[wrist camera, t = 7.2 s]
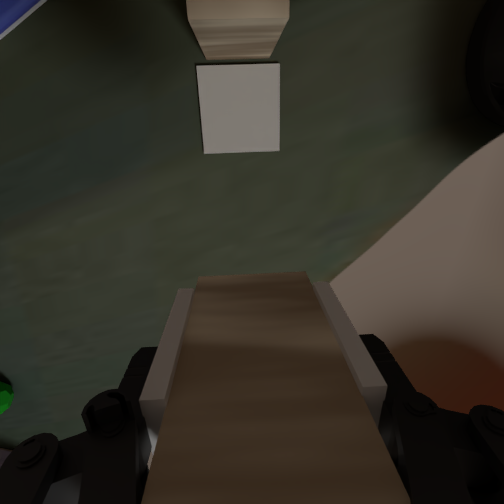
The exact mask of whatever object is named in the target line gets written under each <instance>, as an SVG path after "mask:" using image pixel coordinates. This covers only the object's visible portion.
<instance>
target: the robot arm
mask: <svg viewBox="0 0 504 504" xmlns="http://www.w3.org/2000/svg"><path fill="white" fill-rule="evenodd" d="M466 74H467V83H468V88H469V91H470V95H471V97H472V100H473V101H474V103H475V105H476V107H477V108H478V109H479V111H480V112H481V113H482V114H483V115H484V116H485V117H486V118H488V119H489V120H491V121H492V122H494V123H496V124H499V125H501V126H504V0H488V1H487V3H486V4H485V6H484V8H483V10H482V12H481V14H480V16H479V18H478V20H477V22H476V25H475V27H474V30H473V33H472V36H471V39H470V43H469V48H468V53H467V63H466ZM313 290H314V292H315V295H316V297H317V299H318V301H319V303H320V306H321V308H322V310H323V312H324V314H325V316H326V319H327V321H328V323H329V325H330V327H331V330H332V332H333V334H334V336H335V338H336V341H337V343H338V345H339V347H340V349H341V352H342V354H343V356H344V358H345V360H346V363H347V365H348V367H349V369H350V371H351V373H352V376H353V378H354V380H355V382H356V384H357V387H358V389H359V391H360V393H361V395H362V396H363V398H364V400H365V402H366V404H367V406H368V409H369V411H370V413H371V415H372V417H373V420H374V422H375V424H376V426H377V428H378V430H379V433H380V435H381V437H382V439H383V441H384V443H385V446H386V448H387V450H388V452H389V454H390V457H391V459H392V461H393V463H394V465H395V467H396V470H397V472H398V474H399V476H400V478H401V480H402V483H403V485H404V487H405V489H406V491H407V493H408V496H409V498H410V502H411V504H504V411H502V410H500V409H497V408H495V407H492V406H487V405H477V406H474V407H473V408H472V409H471V410H470V412H469V415H468V414H464V413H459V412H454V411H449V410H445V409H442V408H439V407H438V406H437V404H436V403H434V402H433V401H432V400H431V399H430V398H429V397H427V396H425V395H423V394H422V393H419V392H416V390H415V389H414V387H413V386H412V384H411V383H410V381H409V380H408V378H407V377H406V375H405V374H404V372H403V371H402V369H401V368H400V366H399V365H398V363H397V362H396V361H395V359H394V357H393V356H392V354H391V353H390V351H389V350H388V349H387V347H386V345H385V344H384V342H383V341H381V340H380V339H379V338H378V337H376V336H375V335H373V334H365V335H358V334H357V332H356V330H355V328H354V326H353V324H352V323H351V321H350V319H349V318H348V316H347V314H346V313H345V311H344V309H343V307H342V305H341V304H340V302H339V300H338V298H337V297H336V295H335V293H334V291H333V290H332V288H331V286H330V284H329V283H328V282H313ZM194 295H195V293H194V288H188V289H178V292H177V295H176V298H175V301H174V303H173V306H172V309H171V312H170V315H169V317H168V320H167V323H166V326H165V329H164V331H163V334H162V337H161V340H160V343H159V346H158V347H143V348H141V349H140V350H139V351H138V352H137V353H136V354H135V355H134V356H133V357H132V359H131V361H130V363H129V365H128V369H127V370H126V372H125V374H124V378H123V379H122V381H121V383H120V385H119V387H118V389H111V390H107V391H104V392H102V393H99V394H98V395H96V396H95V397H94V398H92V399H91V400H90V401H89V402H88V403H87V404H86V406H85V407H84V409H83V411H82V414H81V415H82V418H83V421H84V423H85V426H86V429H87V431H85V432H83V433H81V434H78V435H75V436H72V437H69V438H66V439H63V440H61V441H58V439H57V437H56V436H55V435H53V434H52V433H42V434H38V435H34V436H32V437H30V438H29V439H27V440H25V441H23V442H22V443H21V444H19V445H18V446H17V447H16V448H14V449H13V451H12V452H11V453H10V454H9V455H8V457H7V458H6V459H5V461H4V462H3V464H2V466H1V467H0V504H141V502H142V498H143V494H144V490H145V486H146V482H147V478H148V474H149V469H148V465H147V463H148V459H149V456H150V452H151V451H152V455H154V451H155V447H156V443H157V439H158V435H159V431H160V427H161V423H162V419H163V415H164V411H165V408H166V407H167V403H168V399H169V395H170V391H171V387H172V383H173V379H174V375H175V371H176V367H177V363H178V359H179V355H180V351H181V347H182V343H183V339H184V335H185V331H186V327H187V323H188V319H189V315H190V311H191V307H192V303H193V299H194Z"/></svg>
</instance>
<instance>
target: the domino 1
mask: <svg viewBox="0 0 504 504" xmlns="http://www.w3.org/2000/svg"><path fill="white" fill-rule="evenodd" d="M186 4H187V15H188V21H189V23H190V25H191V27H192V30H193V32H194V34H195V36H196V38H197V40H198V42H199V45H200V47H201V49H202V51H203V53H204V55H205V57H206V60H227V59H263V58H269V57H270V55H271V53H272V51H273V49H274V47H275V45H276V43H277V41H278V39H279V37H280V35H281V33H282V31H283V29H284V27H285V25H286V23H287V21H288V19H289V0H186Z"/></svg>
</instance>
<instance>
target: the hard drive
mask: <svg viewBox="0 0 504 504" xmlns="http://www.w3.org/2000/svg"><path fill="white" fill-rule="evenodd" d="M46 1H47V0H0V40H1V39H2V38H3V37H4V36H5V35H7V34H8V33H9V32H10V31H11V30H12V29H14V28H15V27H16V26H17V25H18V24H20V23H21V22H22V21H23V20H24V19H26V18H27V17H28V16H29V15H30V14H31V13H33V12H34V11H35V10H36V9H37V8H39V7H40V6H41V5H42V4H43V3H44V2H46Z"/></svg>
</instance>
